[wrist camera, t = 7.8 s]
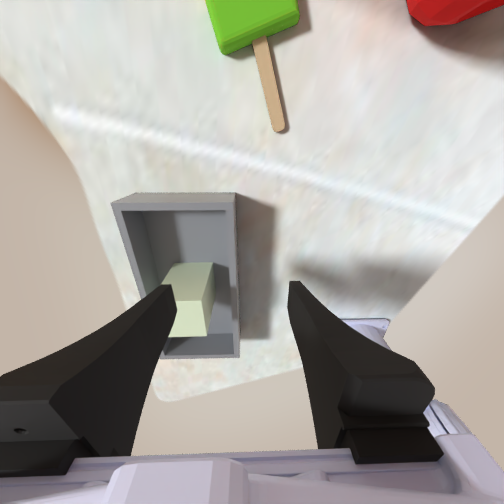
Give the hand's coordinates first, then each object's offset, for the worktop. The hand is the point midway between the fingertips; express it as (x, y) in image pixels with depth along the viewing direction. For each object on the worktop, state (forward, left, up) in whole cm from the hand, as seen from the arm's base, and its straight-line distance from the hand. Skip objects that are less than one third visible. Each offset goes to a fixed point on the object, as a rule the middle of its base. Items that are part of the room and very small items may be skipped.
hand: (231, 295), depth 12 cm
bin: (-5, +5, -9) cm, 12 cm away
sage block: (-5, +5, -9) cm, 11 cm away
